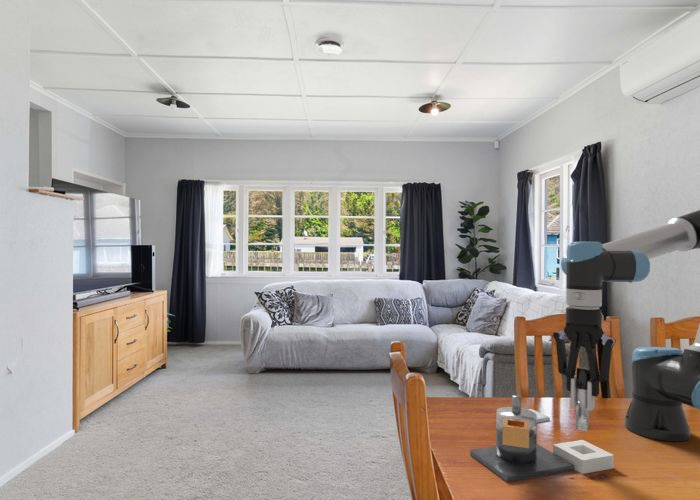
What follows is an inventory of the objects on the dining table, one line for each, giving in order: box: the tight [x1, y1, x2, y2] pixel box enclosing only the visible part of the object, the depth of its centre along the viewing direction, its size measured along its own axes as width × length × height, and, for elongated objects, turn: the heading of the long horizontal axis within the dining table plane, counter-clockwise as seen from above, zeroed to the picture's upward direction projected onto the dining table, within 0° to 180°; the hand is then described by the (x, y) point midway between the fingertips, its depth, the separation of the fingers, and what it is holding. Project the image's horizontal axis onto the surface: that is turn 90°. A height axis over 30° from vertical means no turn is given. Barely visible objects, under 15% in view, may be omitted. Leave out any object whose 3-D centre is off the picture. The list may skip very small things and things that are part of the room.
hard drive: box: [528, 408, 551, 423], centre depth 138 cm, size 2×8×12 cm
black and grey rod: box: [575, 367, 591, 432], centre depth 109 cm, size 3×3×14 cm
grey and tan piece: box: [495, 394, 538, 448], centre depth 107 cm, size 15×9×8 cm, turn 160°
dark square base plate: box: [469, 427, 575, 483], centre depth 109 cm, size 18×14×7 cm
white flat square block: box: [552, 439, 615, 475], centre depth 109 cm, size 9×9×3 cm
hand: (582, 407), depth 109 cm, fingers closed on black and grey rod, 3 cm apart
